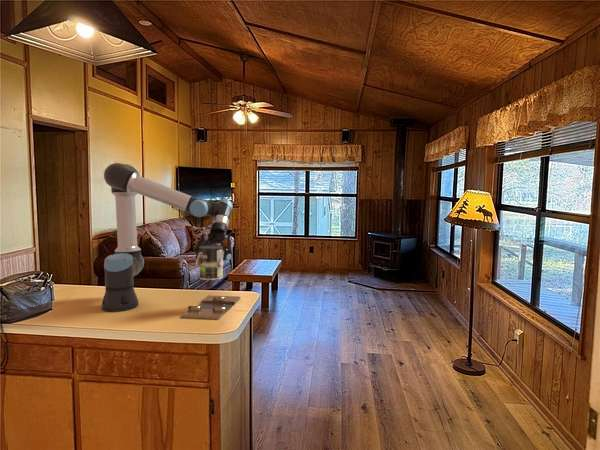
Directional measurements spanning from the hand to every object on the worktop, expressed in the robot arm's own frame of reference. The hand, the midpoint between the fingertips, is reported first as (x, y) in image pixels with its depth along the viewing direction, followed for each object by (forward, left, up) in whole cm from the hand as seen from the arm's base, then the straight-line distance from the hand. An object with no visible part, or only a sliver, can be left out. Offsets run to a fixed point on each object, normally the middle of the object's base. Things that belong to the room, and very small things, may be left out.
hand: (208, 265), depth 174 cm
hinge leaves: (+1, +3, -19) cm, 20 cm away
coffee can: (0, +3, -6) cm, 7 cm away
